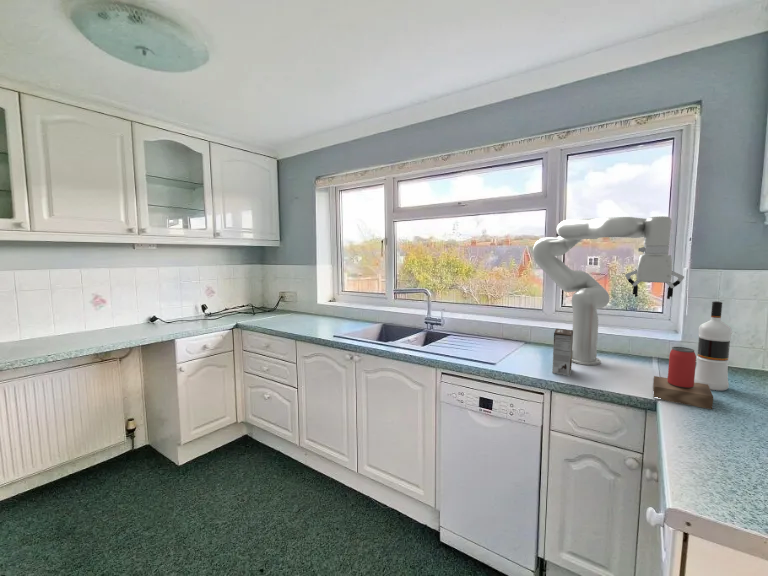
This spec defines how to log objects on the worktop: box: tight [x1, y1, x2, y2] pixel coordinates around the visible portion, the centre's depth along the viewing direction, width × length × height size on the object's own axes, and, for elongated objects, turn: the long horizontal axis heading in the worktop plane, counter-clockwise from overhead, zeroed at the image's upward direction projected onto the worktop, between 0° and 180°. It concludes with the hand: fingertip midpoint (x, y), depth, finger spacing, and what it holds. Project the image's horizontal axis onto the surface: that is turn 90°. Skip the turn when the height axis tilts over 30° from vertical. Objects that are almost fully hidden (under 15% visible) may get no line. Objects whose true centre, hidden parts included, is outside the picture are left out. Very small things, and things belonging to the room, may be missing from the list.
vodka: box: [694, 300, 733, 392], centre depth 124 cm, size 9×9×30 cm
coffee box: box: [552, 328, 573, 376], centre depth 141 cm, size 9×6×16 cm
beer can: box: [667, 346, 697, 388], centre depth 115 cm, size 7×7×12 cm
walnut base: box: [652, 375, 714, 410], centre depth 116 cm, size 14×12×4 cm
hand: (651, 297), depth 133 cm, fingers open, 9 cm apart
